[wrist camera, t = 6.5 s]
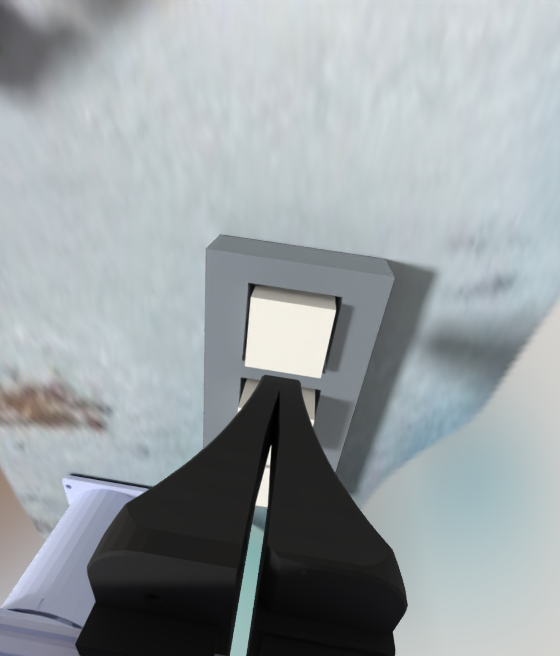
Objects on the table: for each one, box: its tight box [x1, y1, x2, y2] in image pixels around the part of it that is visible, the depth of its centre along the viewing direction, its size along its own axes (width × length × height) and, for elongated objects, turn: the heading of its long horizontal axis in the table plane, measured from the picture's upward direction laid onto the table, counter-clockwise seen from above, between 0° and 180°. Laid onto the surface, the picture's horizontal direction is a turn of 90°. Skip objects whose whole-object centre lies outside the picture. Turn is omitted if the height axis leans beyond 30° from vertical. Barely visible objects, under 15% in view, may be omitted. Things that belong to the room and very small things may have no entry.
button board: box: [203, 235, 395, 510], centre depth 21 cm, size 18×8×2 cm, turn 174°
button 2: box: [245, 284, 336, 378], centre depth 17 cm, size 4×4×3 cm
